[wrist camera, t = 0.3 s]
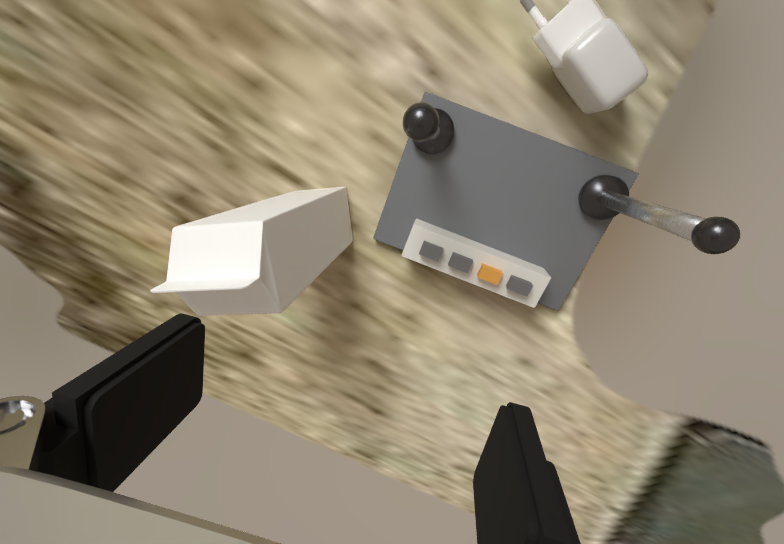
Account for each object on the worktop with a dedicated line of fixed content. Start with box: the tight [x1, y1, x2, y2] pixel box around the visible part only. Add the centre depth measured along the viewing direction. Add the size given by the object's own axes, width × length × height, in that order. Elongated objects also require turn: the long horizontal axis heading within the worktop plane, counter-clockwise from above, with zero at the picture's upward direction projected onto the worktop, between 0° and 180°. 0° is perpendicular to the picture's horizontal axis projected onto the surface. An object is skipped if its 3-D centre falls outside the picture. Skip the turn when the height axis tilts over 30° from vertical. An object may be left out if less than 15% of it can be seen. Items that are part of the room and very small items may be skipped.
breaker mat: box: [373, 92, 639, 311], centre depth 35 cm, size 15×21×5 cm
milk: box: [151, 187, 353, 315], centre depth 30 cm, size 6×6×22 cm
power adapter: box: [520, 0, 648, 114], centre depth 30 cm, size 11×5×6 cm, turn 42°
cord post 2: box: [578, 175, 740, 254], centre depth 27 cm, size 4×4×17 cm
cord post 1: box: [403, 102, 454, 154], centre depth 27 cm, size 4×4×17 cm
